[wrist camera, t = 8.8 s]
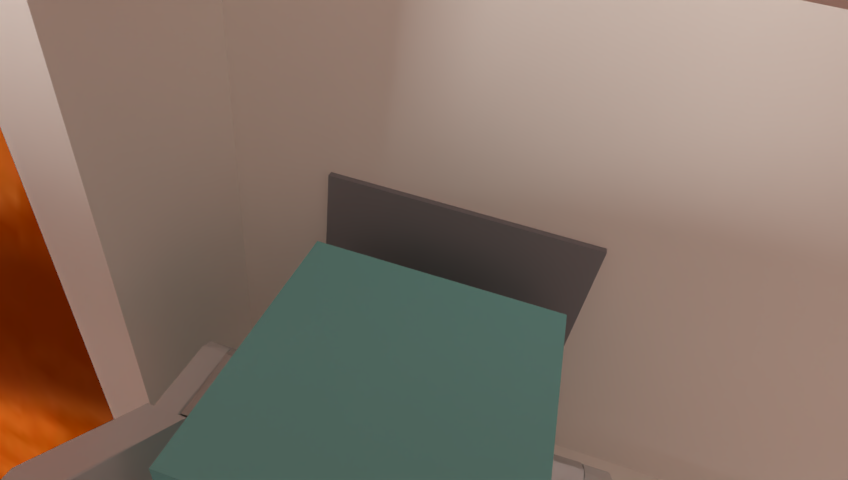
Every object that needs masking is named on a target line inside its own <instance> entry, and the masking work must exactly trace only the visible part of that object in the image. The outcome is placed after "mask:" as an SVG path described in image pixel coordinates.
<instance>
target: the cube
mask: <svg viewBox="0 0 848 480" xmlns="http://www.w3.org/2000/svg"><path fill="white" fill-rule="evenodd" d="M566 319H567V315H566V314H563V313H559V312H556V311H553V310H549V309H546V308H542V307H539V306H536V305H532V304H529V303H526V302H522V301H519V300H515V299H512V298H509V297H505V296H502V295H498V294H495V293H492V292H488V291H485V290H482V289H478V288H475V287H471V286H468V285H465V284H461V283H458V282H455V281H451V280H448V279H444V278H441V277H438V276H434V275H431V274H427V273H424V272H421V271H417V270H414V269H411V268H407V267H404V266H400V265H397V264H394V263H390V262H387V261H384V260H380V259H377V258H373V257H370V256H367V255H363V254H360V253H356V252H353V251H350V250H346V249H343V248H340V247H336V246H333V245H329V244H326V243H323V242H319V241H317V242H316V243H315V245H314V246H313V248H312V249H311V250H310V252H309V253H308V254H307V256H306V257H305V258H304V260H303V261H302V262H301V264H300V265H299V266H298V268H297V269H296V270H295V272H294V273H293V275H292V276H291V277H290V279H289V280H288V281H287V283H286V284H285V285H284V287H283V288H282V289H281V291H280V292H279V293H278V295H277V296H276V297H275V299H274V300H273V302H272V303H271V304H270V306H269V307H268V308H267V310H266V311H265V312H264V314H263V315H262V316H261V318H260V319H259V320H258V322H257V323H256V325H255V326H254V327H253V329H252V330H251V331H250V333H249V334H248V335H247V337H246V338H245V339H244V341H243V342H242V343H241V345H240V346H239V347H238V349H237V350H236V352H235V353H234V354H233V356H232V357H231V358H230V360H229V361H228V362H227V364H226V365H225V366H224V368H223V369H222V370H221V372H220V373H219V374H218V376H217V377H216V379H215V380H214V381H213V383H212V384H211V385H210V387H209V388H208V389H207V391H206V392H205V393H204V395H203V396H202V397H201V399H200V400H199V401H198V403H197V404H196V406H195V407H194V408H193V410H192V411H191V412H190V414H189V415H188V416H187V418H186V419H185V420H184V422H183V423H182V424H181V426H180V427H179V428H178V430H177V431H176V433H175V434H174V435H173V437H172V438H171V439H170V441H169V442H168V443H167V445H166V446H165V447H164V449H163V450H162V451H161V453H160V454H159V455H158V457H157V458H156V460H155V461H154V462H153V464H152V465H151V466H150V468H149V471H150V474H151V476H152V479H153V480H551V478H552V467H553V456H554V446H555V435H556V425H557V414H558V403H559V393H560V382H561V372H562V361H563V350H564V340H565V329H566Z"/></svg>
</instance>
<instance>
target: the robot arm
mask: <svg viewBox="0 0 848 480" xmlns="http://www.w3.org/2000/svg"><path fill="white" fill-rule="evenodd" d="M235 352H236V349H234V348H231V347H228V346H225V345H222V344H219V343H216V342H212V341H210V342H208V343H207V344H205V345H204V346H203V347H201V349H200V350H199V351H198V352H197V354H196V355H195V356H194V357H193V358H192V360H191V361H190V362H189V363H188V365H187V366H186V367H185V368H184V369H183V371H182V372H181V373H180V374H179V376H178V377H177V378H176V379H175V380H174V382H173V383H172V384H171V385H170V387H169V388H168V389H167V390H166V391H165V393H164V394H163V395H162V396H161V397H160V399H159V400H158V401H157V402H156V404H155V405H151V404H148V403H147V404H145V405H143V406H141V407H138V408H136V409H134V410H132V411H130V412H128V413H126V414H124V415H122V416H120V417H118V418H116V419H113V420H111V421H109V422H107V423H105V424H103V425H101V426H99V427H97V428H95V429H93V430H91V431H88V432H86V433H84V434H82V435H80V436H78V437H76V438H74V439H72V440H70V441H68V442H66V443H63V444H61V445H59V446H57V447H55V448H53V449H51V450H49V451H47V452H45V453H43V454H41V455H38V456H36V457H34V458H32V459H30V460H28V461H26V462H24V463H22V464H20V465H18V466H16V467H13V468H12V469H11V470H10V471H9V472H8V473H7V474H6V475H5V476H4V477H3V478H2V479H1V480H153V479H152V476H151V474H150V471H149V468H150V466H151V465H152V464H153V462H154V461H155V460H156V458H157V457H158V455H159V454H160V453H161V451H162V450H163V449H164V447H165V446H166V445H167V443H168V442H169V441H170V439H171V438H172V437H173V435H174V434H175V433H176V431H177V430H178V428H179V427H180V426H181V424H182V423H183V422H184V420H185V419H186V418H187V416H188V415H189V414H190V412H191V411H192V410H193V408H194V407H195V406H196V404H197V403H198V401H199V400H200V399H201V397H202V396H203V395H204V393H205V392H206V391H207V389H208V388H209V387H210V385H211V384H212V383H213V381H214V380H215V379H216V377H217V376H218V374H219V373H220V372H221V370H222V369H223V368H224V366H225V365H226V364H227V362H228V361H229V360H230V358H231V357H232V356H233V354H234V353H235ZM551 480H612V478H611V475H610V473H609V472H607V471H604V470H600V469H597V468H594V467H591V466H588V465H585V464H581V462H578V461H574V460H571V459H568V458H565V457H561V456H558V455H555V454H554V456H553V467H552V478H551Z"/></svg>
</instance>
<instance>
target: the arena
mask: <svg viewBox="0 0 848 480" xmlns="http://www.w3.org/2000/svg"><path fill="white" fill-rule="evenodd" d="M0 127H1V130H2V132H3V135H4V137H5V140H6V143H7V145H8V148H9V150H10V153H11V155H12V158H13V161H14V163H15V166H16V168H17V171H18V173H19V176H20V179H21V181H22V184H23V186H24V189H25V191H26V194H27V197H28V199H29V202H30V204H31V207H32V209H33V212H34V215H35V217H36V220H37V222H38V225H39V227H40V230H41V233H42V235H43V238H44V240H45V243H46V246H47V248H48V251H49V253H50V256H51V258H52V261H53V264H54V266H55V269H56V271H57V274H58V276H59V279H60V282H61V284H62V287H63V289H64V292H65V294H66V297H67V300H68V302H69V305H70V307H71V310H72V312H73V315H74V318H75V320H76V323H77V325H78V328H79V330H80V333H81V336H82V338H83V341H84V343H85V346H86V348H87V351H88V354H89V356H90V359H91V361H92V364H93V366H94V369H95V372H96V374H97V377H98V379H99V382H100V384H101V387H102V390H103V392H104V395H105V397H106V400H107V402H108V405H109V408H110V410H111V413H112V415H113V418H114V419H116V418H118V417H120V416H122V415H124V414H126V413H128V412H130V411H132V410H134V409H136V408H138V407H141V406H143V405H145V404H147V403H148V404H151V405H155V404H156V402H157V401H158V400H159V399H160V397H161V396H162V395H163V394H164V393H165V391H166V390H167V389H168V388H169V387H170V385H171V384H172V383H173V382H174V380H175V379H176V378H177V377H178V376H179V374H180V373H181V372H182V371H183V369H184V368H185V367H186V366H187V365H188V363H189V362H190V361H191V360H192V358H193V357H194V356H195V355H196V354H197V352H198V351H199V350H200V349H201V347H203V346H204V345H205V344H207V343H208V342H210V341H212V342H216V343H219V344H222V345H225V346H228V347H231V348H234V349H236V350H237V349H238V347H239V346H240V345H241V343H242V342H243V341H244V339H245V338H246V337H247V335H248V334H249V333H250V331H251V330H252V329H253V327H254V326H255V325H256V323H257V322H258V320H259V319H260V318H261V316H262V315H263V314H264V312H265V311H266V310H267V308H268V307H269V306H270V304H271V303H272V302H273V300H274V299H275V297H276V296H277V295H278V293H279V292H280V291H281V289H282V288H283V287H284V285H285V284H286V283H287V281H288V280H289V279H290V277H291V276H292V275H293V273H294V272H295V270H296V269H297V268H298V266H299V265H300V264H301V262H302V261H303V260H304V258H305V257H306V256H307V254H308V253H309V252H310V250H311V249H312V248H313V246H314V245H315V243H316V242H317V241H319V242H323V243H326V244H329V245H333V246H336V247H340V248H343V249H346V250H350V251H353V252H356V253H360V254H363V255H367V256H370V257H373V258H377V259H380V260H384V261H387V262H390V263H394V264H397V265H400V266H404V267H407V268H411V269H414V270H417V271H421V272H424V273H427V274H431V275H434V276H438V277H441V278H444V279H448V280H451V281H455V282H458V283H461V284H465V285H468V286H471V287H475V288H478V289H482V290H485V291H488V292H492V293H495V294H498V295H502V296H505V297H509V298H512V299H515V300H519V301H522V302H526V303H529V304H532V305H536V306H539V307H542V308H546V309H549V310H553V311H556V312H559V313H563V314H566V315H567V319H566V329H565V340H564V350H563V361H562V372H561V382H560V393H559V403H558V414H557V425H556V435H555V446H554V454H555V455H558V456H561V457H565V458H568V459H571V460H574V461H578V462H581V464H585V465H588V466H591V467H594V468H597V469H600V470H604V471H607V472H609V473H610V475H611V478H612V480H848V0H0Z"/></svg>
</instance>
